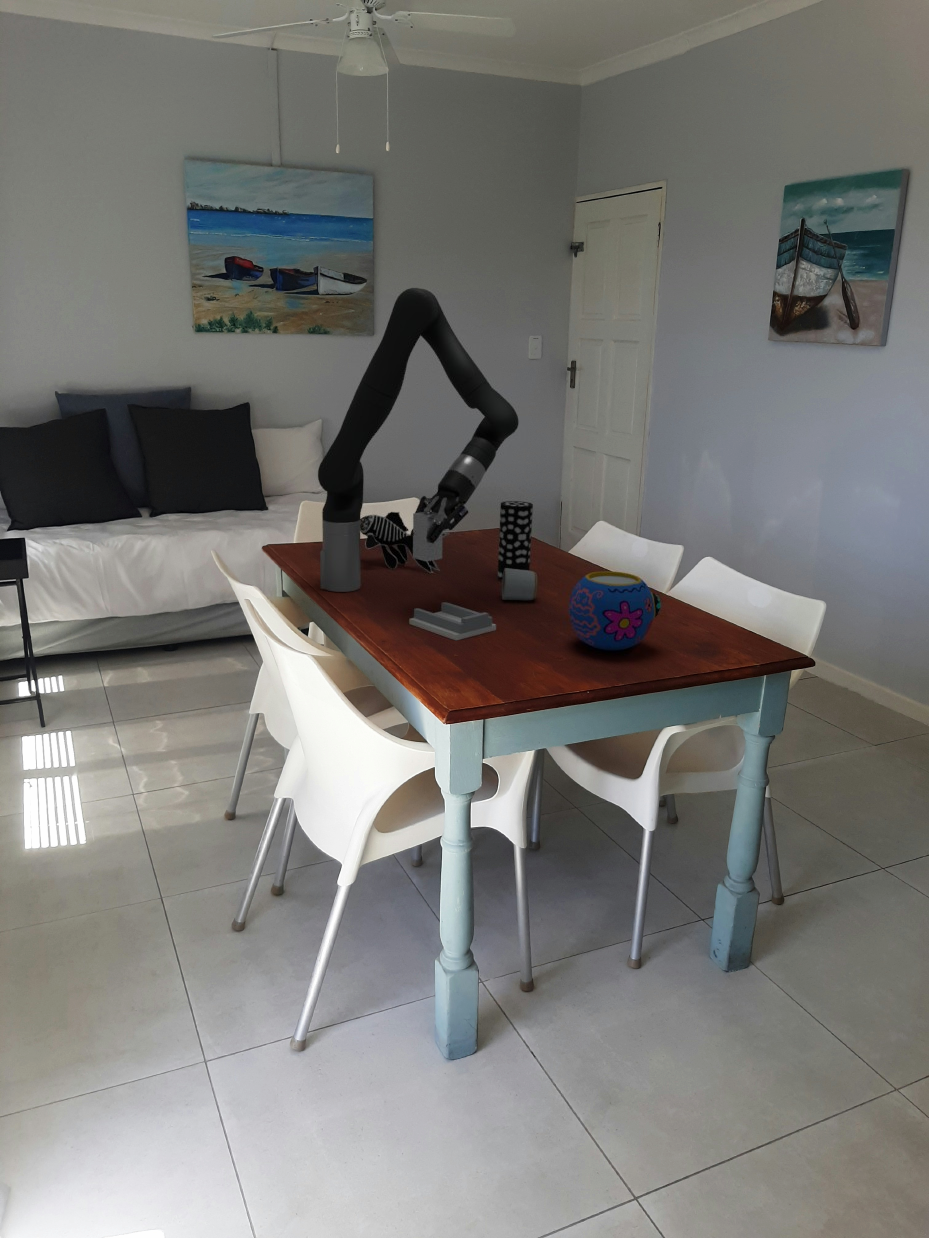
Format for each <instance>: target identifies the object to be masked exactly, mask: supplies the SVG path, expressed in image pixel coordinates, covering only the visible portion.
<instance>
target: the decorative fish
mask: <svg viewBox="0 0 929 1238" xmlns="http://www.w3.org/2000/svg"><path fill="white" fill-rule="evenodd" d="M408 532H410V530H409V528H408V527H407V526H406V525H405V523H404V521H403V519H402V517H401V514H400V511H391V512H388V513H387V514H386V515H385V516H382V515H378V514H368V515H365V516H363V517H360V534H362V535H363V536H366V539H365V541H364V546H365V549H367V550H371V549H372V548H375V547H377V546H380V548H381V553H382V556H383V559H384V563H385V565H386V566H387V567H388V568H389V569H391V570H395V569H396V568H397V567H398V564H399V565H402V566H403V565H406V564H407V563H409V558H408V557H409V555H410V556H411V557H412V560H414V562H415V563H416V564H417V566H419V567H420V568H422V569H424V570H425V571H426V572H427V573H429V574H431V573H434V571H432V569H433V570H435V571H437V570H438V571H437V572H441V570H440V569H439V567H438V565H437V563H436V562H435V560H432V561H423V560H419V559H416V558H413V537H412V536H411V533H408ZM448 535H451V533H449V532H445V531H443V535H442V539H443V538H445V537H446V536H448ZM395 546H396V547H395ZM408 552H409V555H408Z"/></svg>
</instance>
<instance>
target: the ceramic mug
mask: <svg viewBox="0 0 929 1238" xmlns="http://www.w3.org/2000/svg"><path fill="white" fill-rule="evenodd" d="M537 590H538V574H537V572H535V571H532V570H529V571H528V570H518V569H509V568H505V569H504V572H503V580H502V581H501V599H502V600H503V601H533V600H535V599H536V597H537Z"/></svg>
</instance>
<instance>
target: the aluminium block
mask: <svg viewBox="0 0 929 1238" xmlns="http://www.w3.org/2000/svg"><path fill="white" fill-rule="evenodd" d="M412 515H413V516H412V520H413V521H412V525H413V526H412V529H413V557H412V559H413V558H416V559H419V560H423V561H432V560H434V561H436V560H437V561H438V560H442V559H443V538H442V535H443V532H444V531H442V533H441V534H440V536H439V537H438V539H437V540H436V541H435V542H434V543H433V544H432V543H430V542H429V541H428V540H427V539H426V537H427V535H428V534H429V532H430V531H431V529H432V528H433V526H434V525H437V524H436V522H437V520H438V518H439V515H438V513H435V512H432V511H431V510H430V511H426V512H420V513H415V512H413V513H412Z"/></svg>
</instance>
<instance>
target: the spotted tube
mask: <svg viewBox="0 0 929 1238" xmlns="http://www.w3.org/2000/svg"><path fill="white" fill-rule="evenodd" d="M533 509H534V504H533V503H532V502H527V501H521V500H520V501H519V500H509V501H508V500H506V501H502V502H500V513H499V530H498V531H499V533H498V535H499V536H498V557H497V577H496V578H497V580H498V581H499V582H502V580H503V572H504V569H505V568H509V569H518V570H528V571H531V570H530V569H531V568H530V567H531V550H532V549H531V546H532V532H533V531H532V528H533V512H534V511H533Z"/></svg>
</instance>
